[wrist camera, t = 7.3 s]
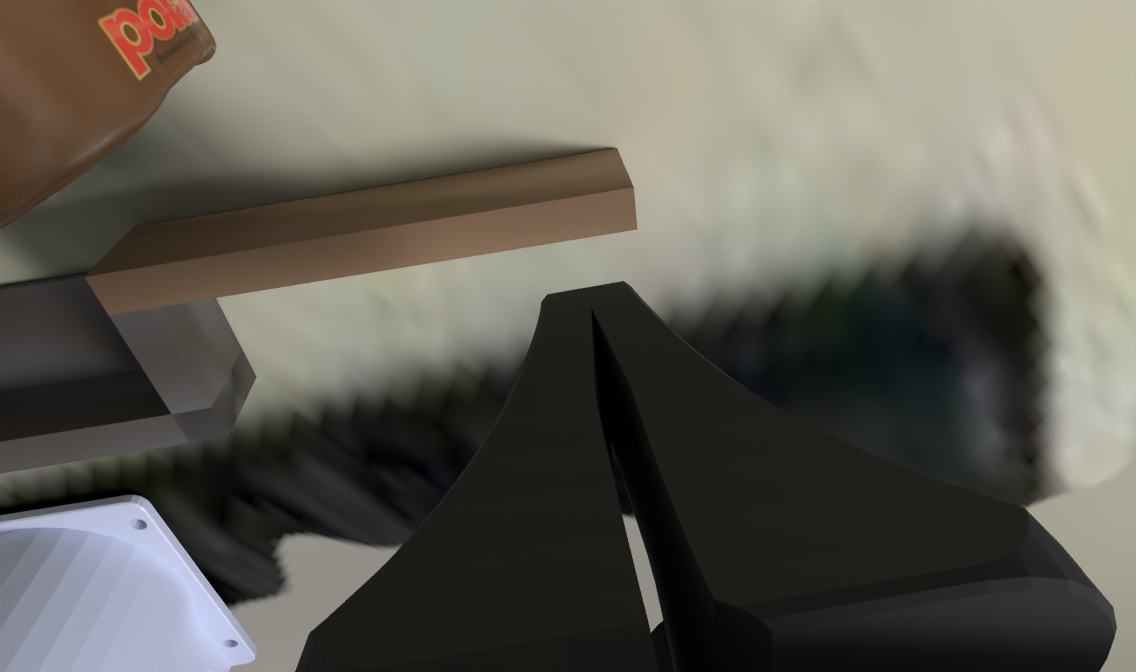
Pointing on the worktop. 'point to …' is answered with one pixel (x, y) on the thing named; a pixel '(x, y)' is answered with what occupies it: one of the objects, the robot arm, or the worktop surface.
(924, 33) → the worktop surface
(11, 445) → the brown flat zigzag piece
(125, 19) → the tin
